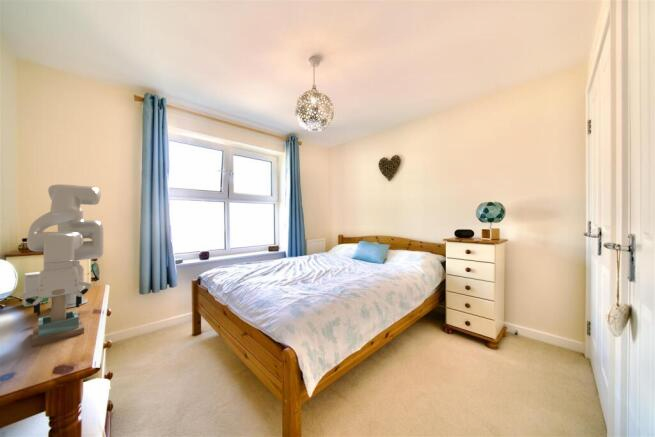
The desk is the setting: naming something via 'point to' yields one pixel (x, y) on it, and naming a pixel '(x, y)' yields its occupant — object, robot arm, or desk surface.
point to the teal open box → (57, 328)
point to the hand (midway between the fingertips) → (58, 310)
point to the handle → (58, 306)
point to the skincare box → (31, 283)
